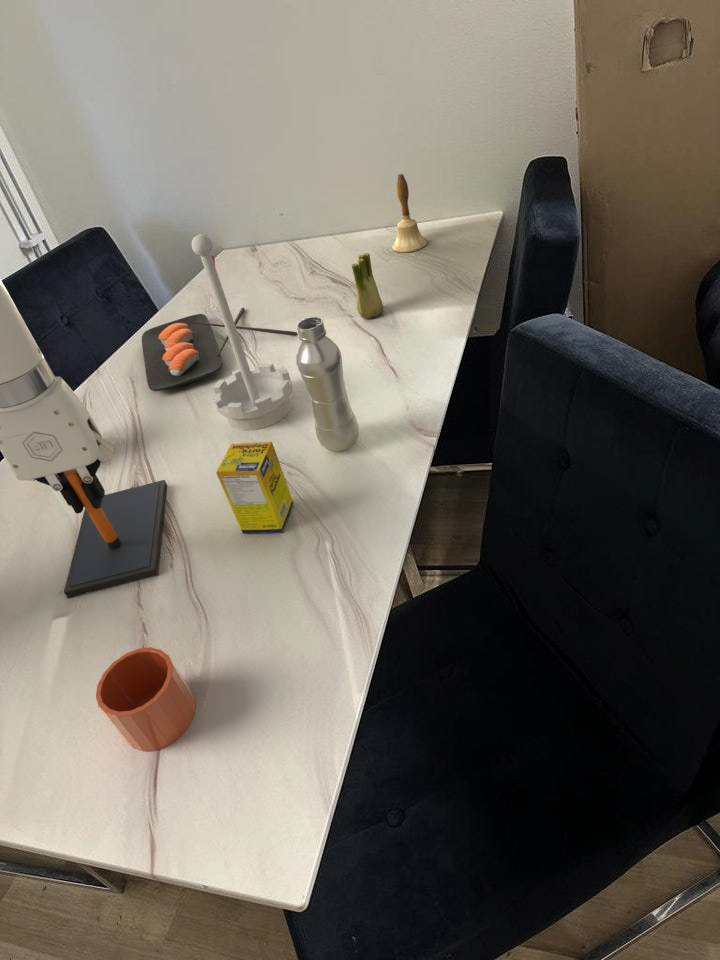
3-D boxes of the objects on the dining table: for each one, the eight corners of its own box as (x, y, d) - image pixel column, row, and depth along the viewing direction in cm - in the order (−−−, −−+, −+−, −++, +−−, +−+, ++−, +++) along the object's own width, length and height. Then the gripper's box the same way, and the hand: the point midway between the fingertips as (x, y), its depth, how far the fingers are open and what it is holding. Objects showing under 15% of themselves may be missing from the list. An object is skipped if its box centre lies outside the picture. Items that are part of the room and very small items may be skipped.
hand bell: (431, 237, 157) (422, 166, 147) (421, 252, 152) (411, 179, 142) (398, 239, 160) (387, 170, 150) (387, 253, 155) (375, 182, 145)
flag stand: (296, 424, 106) (240, 241, 88) (218, 440, 107) (146, 262, 89) (297, 383, 117) (246, 210, 98) (225, 398, 117) (161, 229, 99)
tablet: (67, 598, 86) (63, 591, 85) (90, 505, 100) (86, 498, 100) (158, 575, 86) (154, 568, 85) (167, 485, 101) (164, 479, 100)
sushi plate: (143, 339, 144) (136, 323, 141) (274, 297, 148) (270, 281, 145) (152, 402, 121) (144, 384, 119) (307, 350, 125) (302, 332, 123)
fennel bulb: (366, 324, 129) (354, 265, 122) (352, 317, 133) (340, 259, 125) (390, 312, 131) (379, 253, 123) (376, 306, 134) (365, 248, 127)
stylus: (108, 550, 89) (62, 477, 81) (109, 542, 91) (65, 468, 83) (120, 547, 89) (76, 473, 81) (121, 538, 91) (78, 465, 83)
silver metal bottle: (322, 461, 98) (287, 340, 85) (317, 435, 103) (284, 318, 91) (365, 450, 98) (336, 328, 85) (358, 425, 103) (330, 307, 91)
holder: (121, 762, 66) (90, 725, 61) (129, 695, 72) (101, 657, 68) (195, 743, 66) (169, 704, 62) (197, 678, 72) (174, 639, 68)
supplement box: (294, 503, 92) (273, 440, 85) (283, 534, 87) (259, 470, 80) (254, 504, 93) (230, 442, 86) (241, 534, 89) (214, 471, 82)
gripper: (-63, 417, 71) (24, 538, 82) (80, 381, 71) (147, 507, 82) (-41, 383, 77) (37, 500, 88) (91, 349, 77) (152, 471, 88)
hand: (90, 503), depth 85 cm, fingers closed on stylus, 1 cm apart
